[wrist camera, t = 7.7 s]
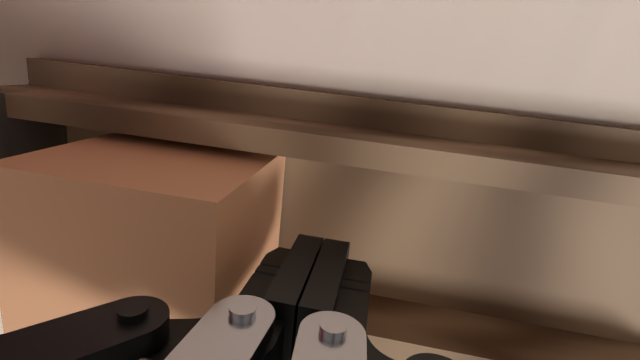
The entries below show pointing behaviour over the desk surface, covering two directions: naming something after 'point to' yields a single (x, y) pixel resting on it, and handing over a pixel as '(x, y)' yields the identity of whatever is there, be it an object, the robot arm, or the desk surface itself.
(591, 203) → the walnut chute
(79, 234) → the terracotta block
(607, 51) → the desk surface
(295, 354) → the robot arm
